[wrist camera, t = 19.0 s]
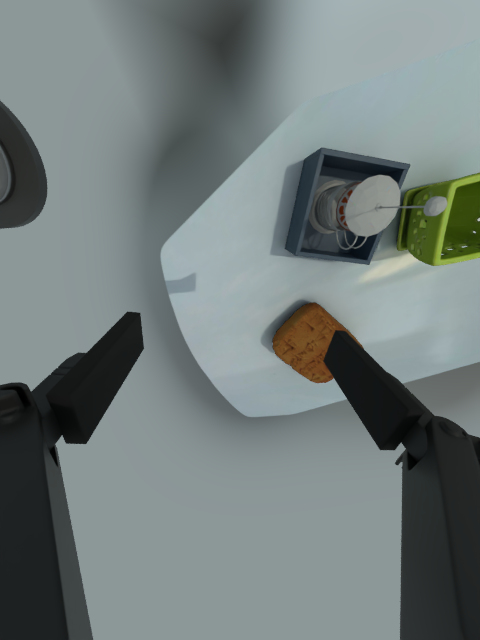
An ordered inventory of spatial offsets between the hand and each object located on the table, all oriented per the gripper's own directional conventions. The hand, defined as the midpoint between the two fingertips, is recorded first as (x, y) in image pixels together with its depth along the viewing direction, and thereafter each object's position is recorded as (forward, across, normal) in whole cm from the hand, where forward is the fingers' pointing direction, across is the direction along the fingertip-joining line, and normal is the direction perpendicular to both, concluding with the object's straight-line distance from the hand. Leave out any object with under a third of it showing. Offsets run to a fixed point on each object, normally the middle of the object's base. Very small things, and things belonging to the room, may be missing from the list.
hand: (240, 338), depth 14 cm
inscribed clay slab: (+37, +25, -21) cm, 49 cm away
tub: (+37, +20, +10) cm, 43 cm away
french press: (+36, +20, +10) cm, 42 cm away
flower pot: (+37, +41, +12) cm, 56 cm away
